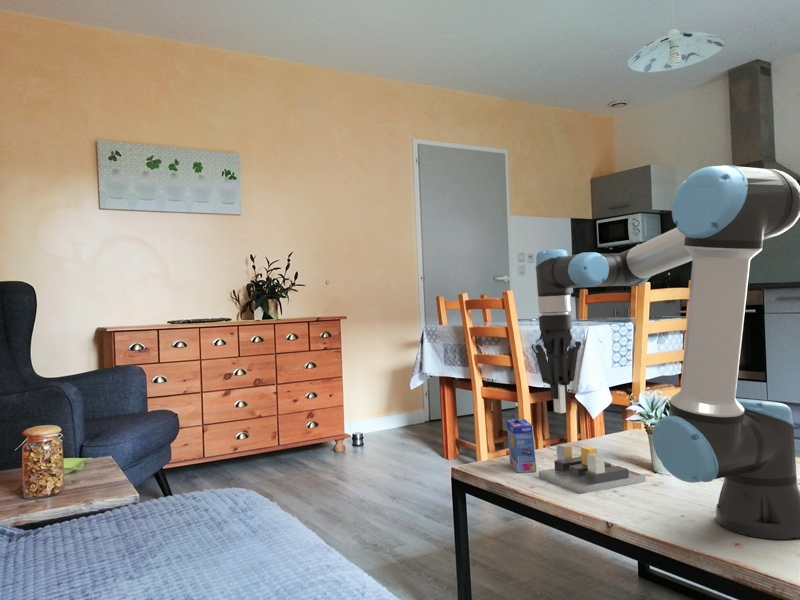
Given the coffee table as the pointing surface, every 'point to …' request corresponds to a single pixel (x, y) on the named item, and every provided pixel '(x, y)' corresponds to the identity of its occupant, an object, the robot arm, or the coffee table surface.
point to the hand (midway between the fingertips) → (560, 412)
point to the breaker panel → (588, 484)
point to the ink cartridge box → (521, 445)
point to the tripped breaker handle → (587, 451)
